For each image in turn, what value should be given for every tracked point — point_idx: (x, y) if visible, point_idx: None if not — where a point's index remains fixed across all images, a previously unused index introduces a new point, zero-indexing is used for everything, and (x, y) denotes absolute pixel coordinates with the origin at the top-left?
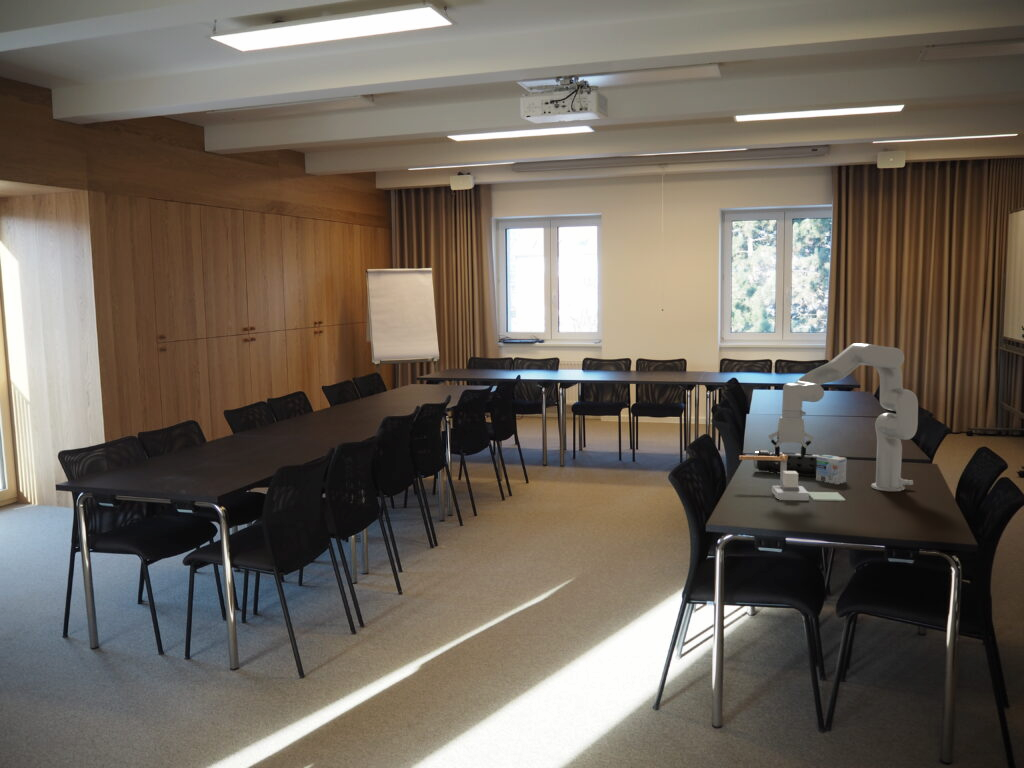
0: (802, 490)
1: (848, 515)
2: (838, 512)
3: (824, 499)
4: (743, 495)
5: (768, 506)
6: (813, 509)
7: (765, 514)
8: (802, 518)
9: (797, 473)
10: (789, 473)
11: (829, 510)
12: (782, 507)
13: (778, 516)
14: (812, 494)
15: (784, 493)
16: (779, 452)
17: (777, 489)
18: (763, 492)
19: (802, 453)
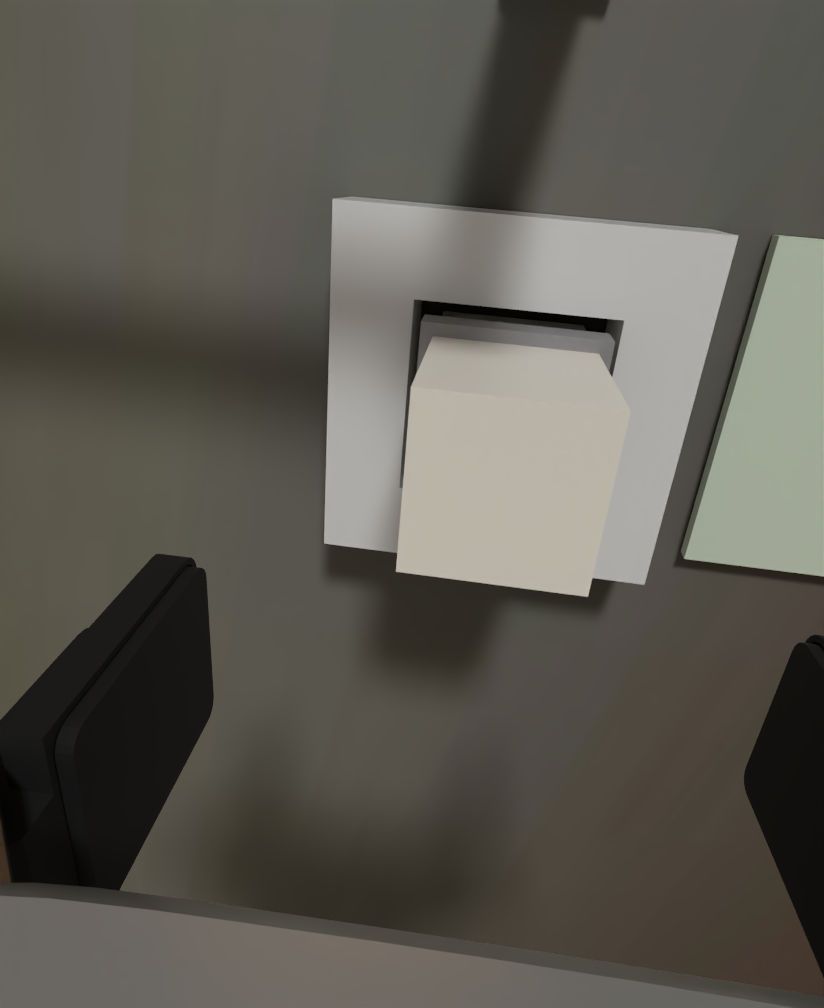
0: (625, 476)
1: (721, 915)
2: (692, 857)
3: (787, 570)
4: (40, 320)
5: (228, 684)
6: (543, 781)
7: (182, 839)
8: (389, 924)
9: (581, 583)
10: (458, 572)
11: (653, 813)
12: (327, 716)
13: (255, 879)
14: (772, 375)
15: (393, 549)
16: (168, 789)
17: (352, 417)
18: (258, 177)
19: (781, 855)
